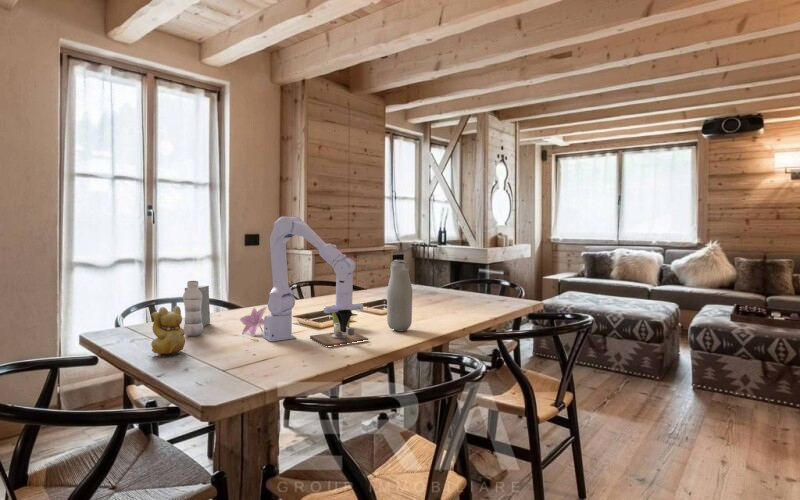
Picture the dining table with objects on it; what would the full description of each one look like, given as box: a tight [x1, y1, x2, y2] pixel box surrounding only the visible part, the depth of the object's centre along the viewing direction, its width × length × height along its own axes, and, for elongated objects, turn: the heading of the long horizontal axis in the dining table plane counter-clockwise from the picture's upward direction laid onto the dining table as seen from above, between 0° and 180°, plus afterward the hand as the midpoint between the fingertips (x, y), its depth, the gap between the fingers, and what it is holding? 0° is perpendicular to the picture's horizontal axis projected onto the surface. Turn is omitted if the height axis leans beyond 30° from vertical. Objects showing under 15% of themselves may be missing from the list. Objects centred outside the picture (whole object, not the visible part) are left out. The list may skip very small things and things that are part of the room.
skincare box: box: [184, 285, 211, 328], centre depth 185 cm, size 8×7×16 cm
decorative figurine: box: [150, 305, 186, 358], centre depth 145 cm, size 10×8×15 cm
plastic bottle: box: [182, 280, 204, 337], centre depth 168 cm, size 6×7×20 cm
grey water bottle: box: [386, 259, 413, 331], centre depth 182 cm, size 10×10×28 cm
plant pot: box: [331, 304, 353, 328], centre depth 185 cm, size 9×9×9 cm
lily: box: [239, 306, 268, 338], centre depth 174 cm, size 12×12×10 cm
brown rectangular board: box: [309, 331, 369, 347], centre depth 166 cm, size 16×14×3 cm
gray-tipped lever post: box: [333, 323, 355, 336], centre depth 163 cm, size 4×10×3 cm, turn 42°
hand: (343, 331), depth 162 cm, fingers closed, pressing on gray-tipped lever post
